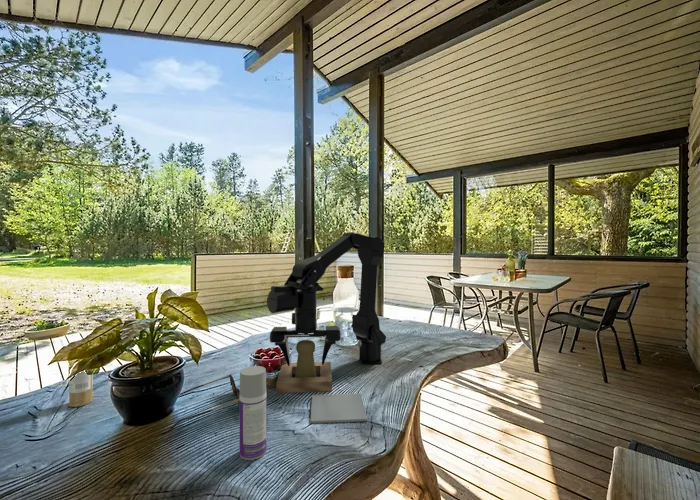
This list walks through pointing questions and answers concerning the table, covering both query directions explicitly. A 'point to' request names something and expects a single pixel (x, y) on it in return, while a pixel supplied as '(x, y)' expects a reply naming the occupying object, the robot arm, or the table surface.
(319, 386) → the holder
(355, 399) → the tile
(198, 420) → the table surface
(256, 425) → the container
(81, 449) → the table surface
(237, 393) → the sunglasses
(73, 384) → the sprinkles bottle
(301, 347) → the tan knobbed peg
